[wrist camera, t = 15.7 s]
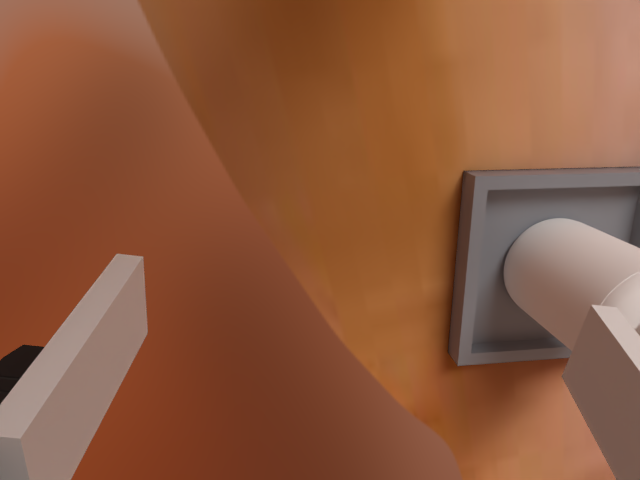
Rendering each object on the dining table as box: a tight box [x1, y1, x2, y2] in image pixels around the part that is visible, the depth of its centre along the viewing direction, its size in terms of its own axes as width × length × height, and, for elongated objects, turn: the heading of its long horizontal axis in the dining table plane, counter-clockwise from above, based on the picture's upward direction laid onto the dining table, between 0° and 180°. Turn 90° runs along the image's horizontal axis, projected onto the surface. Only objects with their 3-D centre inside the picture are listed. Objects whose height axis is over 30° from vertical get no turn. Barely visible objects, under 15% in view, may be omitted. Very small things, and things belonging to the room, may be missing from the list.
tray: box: [448, 167, 640, 366], centre depth 41 cm, size 15×15×2 cm
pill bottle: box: [504, 218, 640, 351], centre depth 35 cm, size 8×8×15 cm
